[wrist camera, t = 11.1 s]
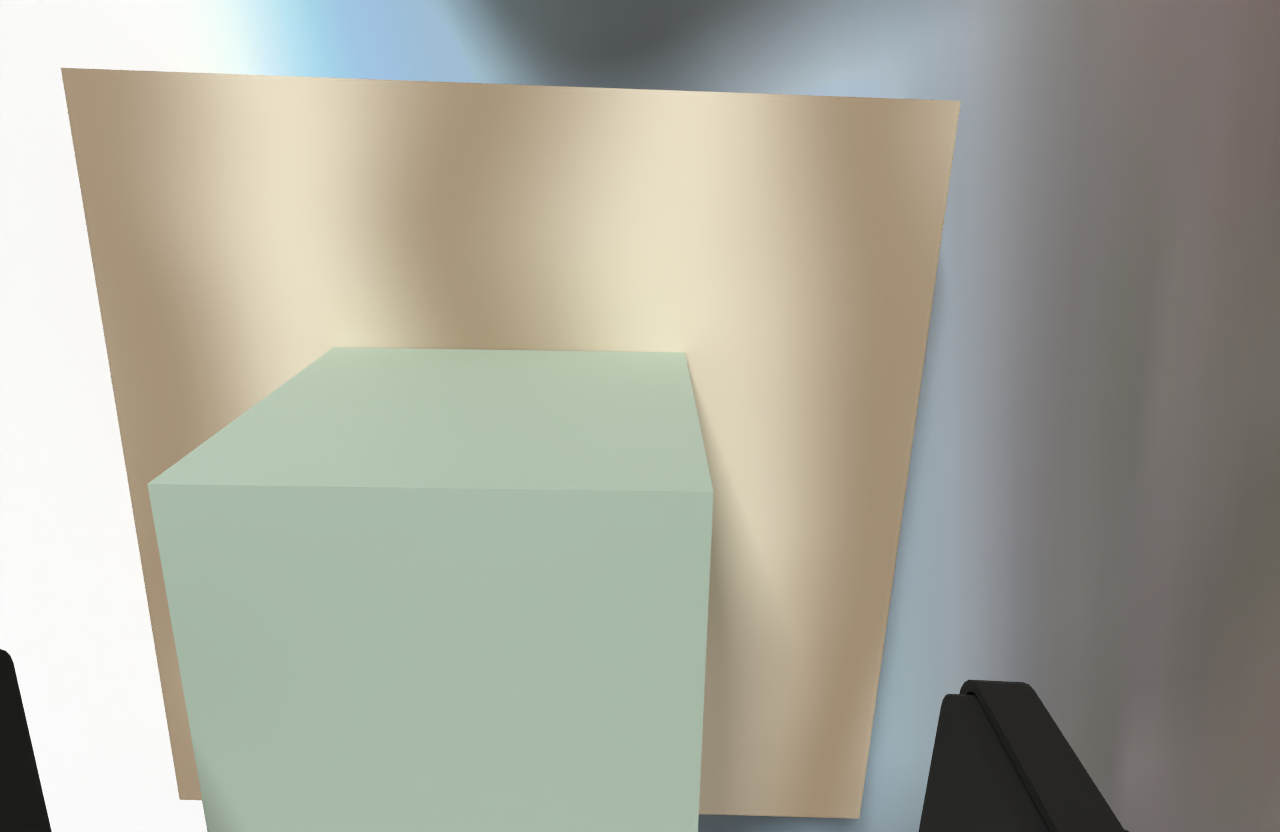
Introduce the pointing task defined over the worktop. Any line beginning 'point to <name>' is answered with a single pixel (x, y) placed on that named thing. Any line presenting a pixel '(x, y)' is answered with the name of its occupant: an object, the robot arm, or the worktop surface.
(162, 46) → the worktop surface
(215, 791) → the sage cube
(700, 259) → the birch block
